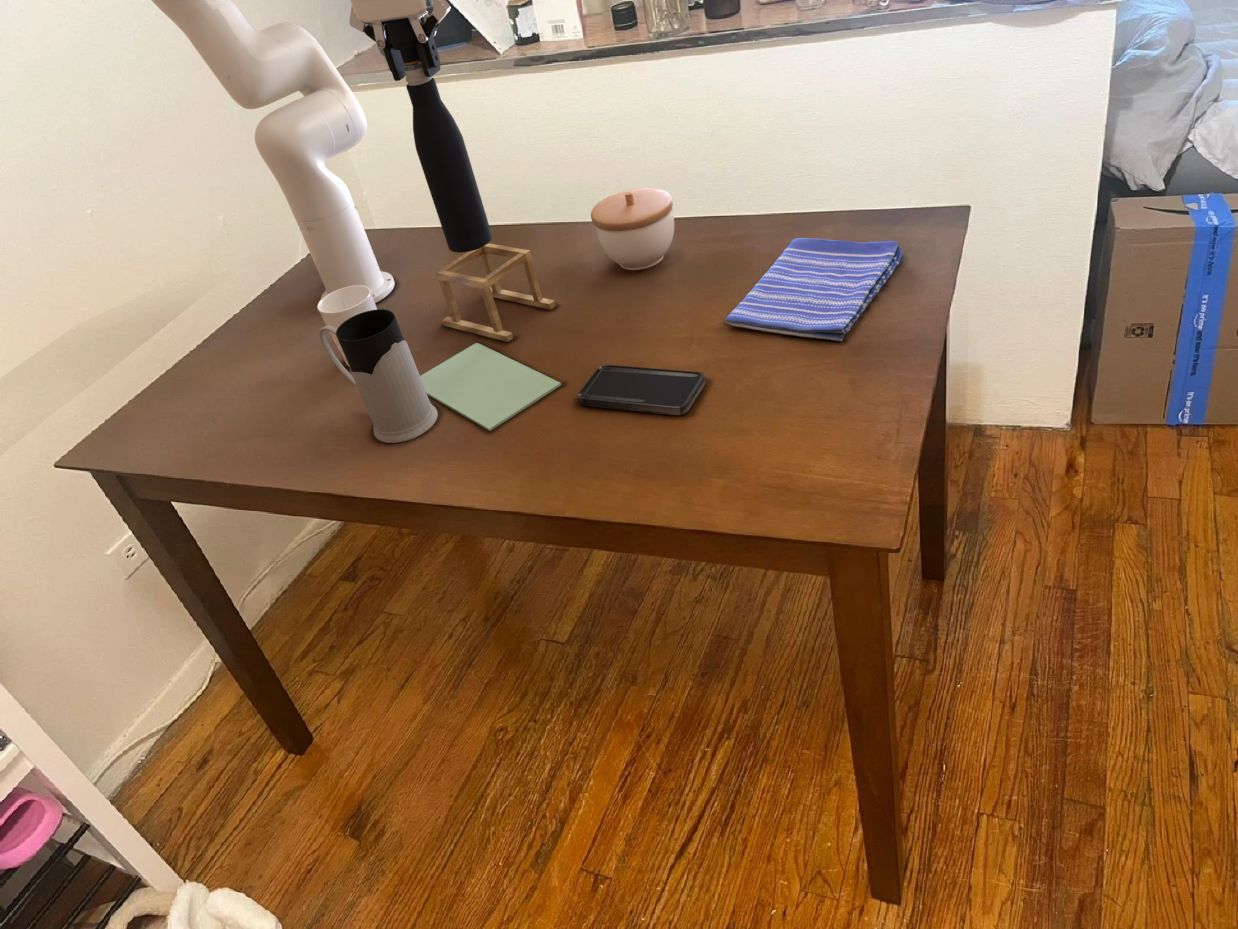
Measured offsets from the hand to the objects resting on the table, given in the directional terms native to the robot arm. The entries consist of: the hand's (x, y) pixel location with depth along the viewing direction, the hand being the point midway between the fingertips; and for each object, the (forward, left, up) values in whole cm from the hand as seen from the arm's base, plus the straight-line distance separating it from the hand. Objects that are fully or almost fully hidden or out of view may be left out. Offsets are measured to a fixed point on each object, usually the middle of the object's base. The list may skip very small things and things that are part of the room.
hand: (417, 73), depth 120 cm
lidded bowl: (+5, +25, -37) cm, 45 cm away
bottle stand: (-2, +2, -37) cm, 37 cm away
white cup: (-11, -17, -37) cm, 42 cm away
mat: (+12, -11, -37) cm, 40 cm away
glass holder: (+7, -23, -37) cm, 44 cm away
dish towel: (+36, +30, -37) cm, 60 cm away
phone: (+33, -1, -37) cm, 49 cm away
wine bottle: (0, 0, -23) cm, 23 cm away
